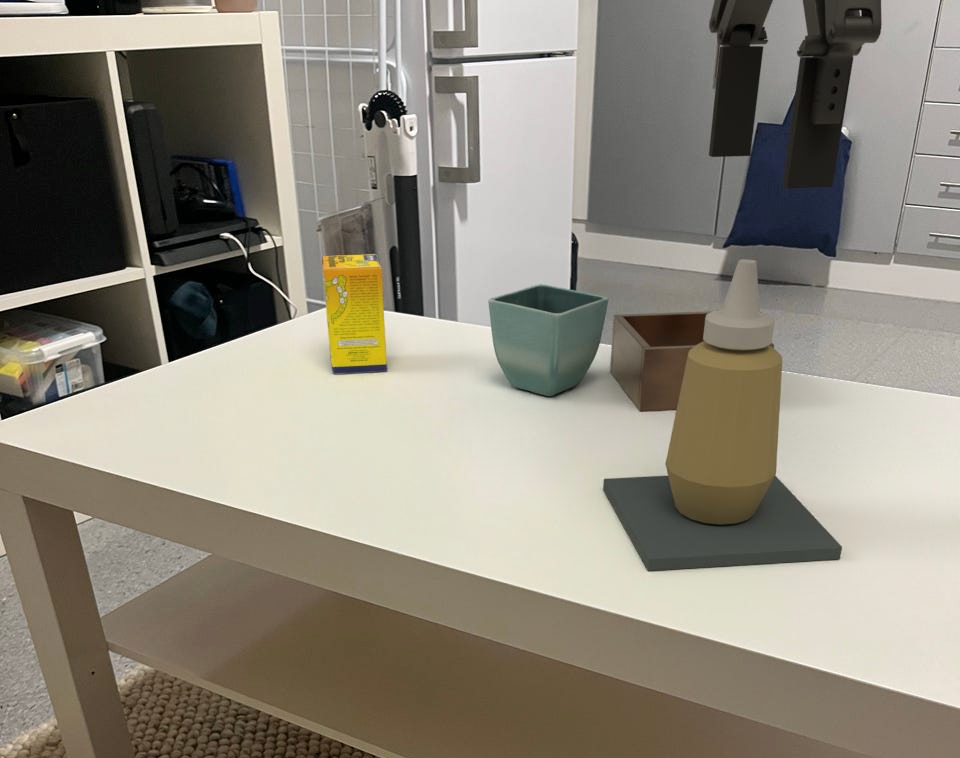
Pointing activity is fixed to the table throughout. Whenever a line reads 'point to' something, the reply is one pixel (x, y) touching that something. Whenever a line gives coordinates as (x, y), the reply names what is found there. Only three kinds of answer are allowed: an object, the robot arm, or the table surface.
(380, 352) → the supplement box
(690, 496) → the squeeze bottle
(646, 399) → the box
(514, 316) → the flower pot
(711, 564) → the mat
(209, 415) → the table surface
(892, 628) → the table surface
